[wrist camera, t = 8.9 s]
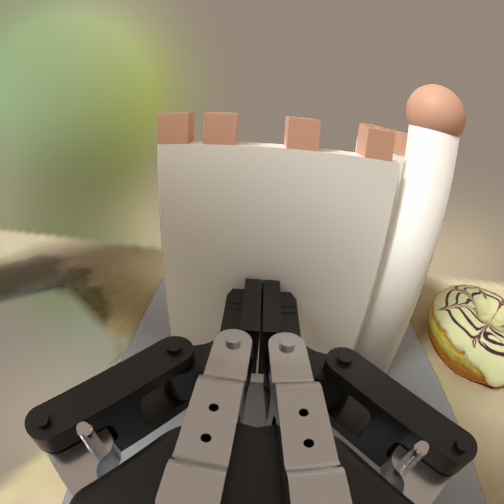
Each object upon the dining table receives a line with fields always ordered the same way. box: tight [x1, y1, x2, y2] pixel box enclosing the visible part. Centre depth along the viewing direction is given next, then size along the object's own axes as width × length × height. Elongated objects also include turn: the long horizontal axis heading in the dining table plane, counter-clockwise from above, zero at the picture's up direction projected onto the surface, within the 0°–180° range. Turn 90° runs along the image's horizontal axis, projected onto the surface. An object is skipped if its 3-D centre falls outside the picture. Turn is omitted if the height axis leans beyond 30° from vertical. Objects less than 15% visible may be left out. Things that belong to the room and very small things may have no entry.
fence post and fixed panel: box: [354, 84, 466, 373], centre depth 18 cm, size 3×11×16 cm, turn 178°
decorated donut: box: [429, 285, 504, 388], centre depth 18 cm, size 10×11×4 cm
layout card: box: [62, 278, 485, 504], centre depth 16 cm, size 20×24×1 cm
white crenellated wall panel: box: [158, 112, 400, 375], centre depth 14 cm, size 10×1×13 cm, turn 89°
